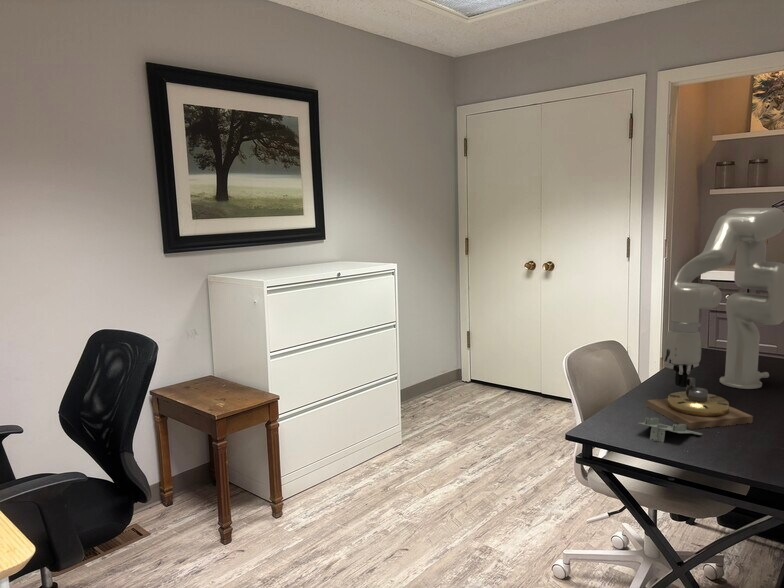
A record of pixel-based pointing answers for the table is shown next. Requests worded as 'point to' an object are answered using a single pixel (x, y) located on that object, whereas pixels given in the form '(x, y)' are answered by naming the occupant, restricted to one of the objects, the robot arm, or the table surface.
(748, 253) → the robot arm
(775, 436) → the table surface
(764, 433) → the table surface
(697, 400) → the rotary dial
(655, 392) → the table surface
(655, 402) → the base plate
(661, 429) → the metal bracket
